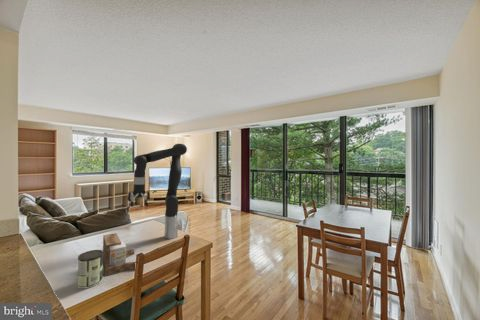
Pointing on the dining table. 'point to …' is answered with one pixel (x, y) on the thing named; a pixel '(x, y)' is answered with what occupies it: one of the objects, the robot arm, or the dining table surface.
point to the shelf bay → (108, 242)
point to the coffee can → (90, 268)
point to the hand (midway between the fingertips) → (138, 206)
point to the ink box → (117, 254)
